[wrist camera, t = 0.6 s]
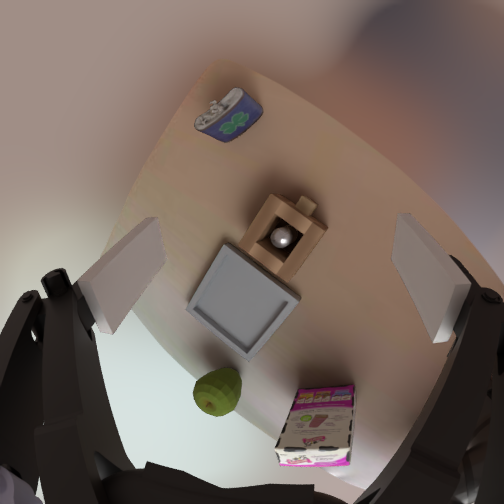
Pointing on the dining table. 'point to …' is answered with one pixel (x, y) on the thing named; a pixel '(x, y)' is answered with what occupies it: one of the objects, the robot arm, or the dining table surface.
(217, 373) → the apple
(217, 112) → the flask
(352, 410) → the candy bar box
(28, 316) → the robot arm
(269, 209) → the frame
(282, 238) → the silver capsule
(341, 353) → the dining table surface
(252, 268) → the tray
